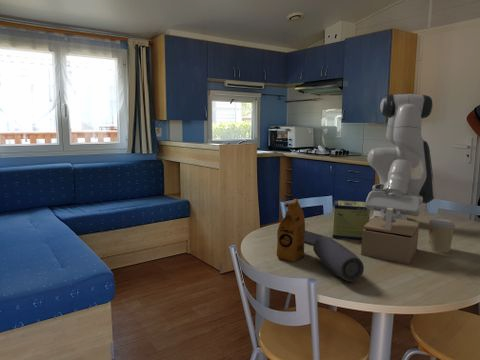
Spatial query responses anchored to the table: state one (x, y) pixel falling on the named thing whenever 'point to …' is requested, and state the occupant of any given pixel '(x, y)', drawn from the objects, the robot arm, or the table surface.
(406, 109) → the robot arm
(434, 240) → the coffee cup
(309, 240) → the notebook
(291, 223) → the coffee package
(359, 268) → the bluetooth speaker
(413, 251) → the carton
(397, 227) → the carton lid
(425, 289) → the table surface
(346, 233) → the protein box
